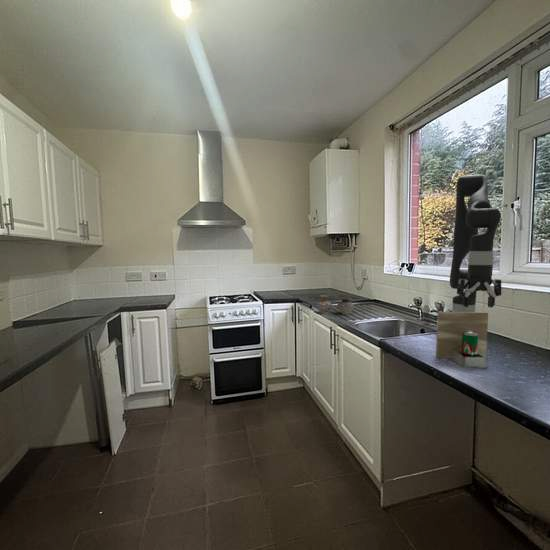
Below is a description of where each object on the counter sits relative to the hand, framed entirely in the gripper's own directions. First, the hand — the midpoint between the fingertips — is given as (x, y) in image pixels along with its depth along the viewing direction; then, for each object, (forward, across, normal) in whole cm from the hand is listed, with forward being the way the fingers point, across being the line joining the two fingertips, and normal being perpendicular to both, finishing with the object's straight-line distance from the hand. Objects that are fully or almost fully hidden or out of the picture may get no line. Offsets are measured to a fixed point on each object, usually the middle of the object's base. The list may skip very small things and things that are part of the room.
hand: (477, 306), depth 113 cm
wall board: (+21, +3, -4) cm, 22 cm away
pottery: (+23, +45, -85) cm, 99 cm away
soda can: (+21, +3, +2) cm, 22 cm away
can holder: (+21, +3, +2) cm, 21 cm away
